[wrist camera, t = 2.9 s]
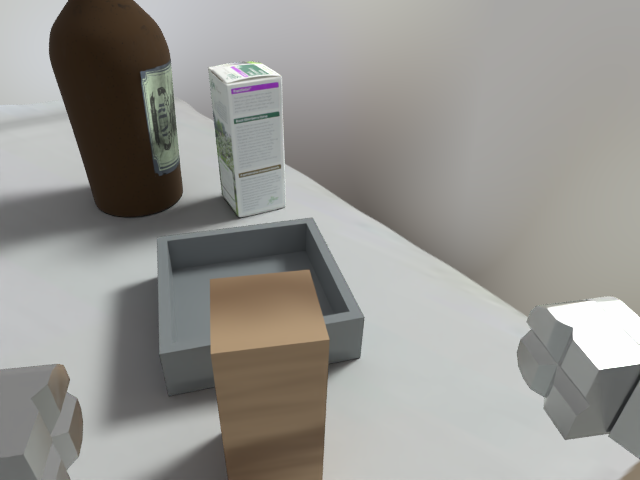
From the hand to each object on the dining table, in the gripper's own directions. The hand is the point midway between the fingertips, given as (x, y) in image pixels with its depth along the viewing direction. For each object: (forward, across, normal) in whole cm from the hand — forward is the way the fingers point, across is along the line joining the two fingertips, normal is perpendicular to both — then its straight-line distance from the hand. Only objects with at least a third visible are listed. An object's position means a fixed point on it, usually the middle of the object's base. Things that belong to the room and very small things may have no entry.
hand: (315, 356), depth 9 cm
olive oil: (+46, +11, +21) cm, 51 cm away
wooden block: (+11, 0, +21) cm, 24 cm away
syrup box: (+43, -1, +21) cm, 47 cm away
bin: (+24, 0, +21) cm, 32 cm away
